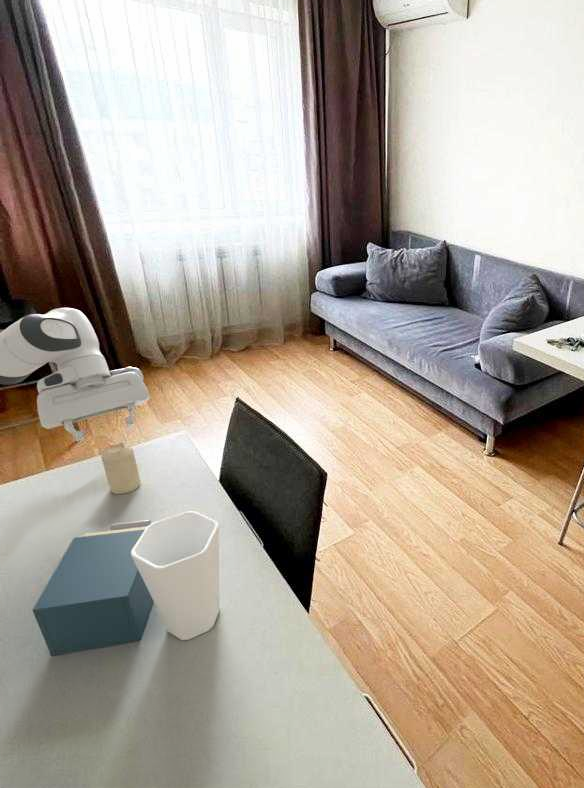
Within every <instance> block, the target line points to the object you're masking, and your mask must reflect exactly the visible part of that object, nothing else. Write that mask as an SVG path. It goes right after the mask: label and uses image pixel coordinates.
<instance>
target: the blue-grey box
mask: <svg viewBox="0 0 584 788" xmlns="http://www.w3.org/2000/svg"><path fill="white" fill-rule="evenodd" d="M144 531H145V529H143V530H135V531H127V532H118V533H110V534H101V535H93V536H85V537H83V536H77V537H73V538H72V541H71V542H70V544H69V546H68V548H67V549H66V551H65V553H64V554H63V555H62V558H61V559H60V561H59V563H58V565H57V567H56V568H55V570H54V572H53V573H52V575H51V577H50V579H49V580H48V582H47V584H46V586H45V588H44V589H43V590H42V593H41V594H40V596H39V598H38V600H37V601H36V603H35V605H34V606H33V608H32V613H33V615H34V617H35V620H36V622H37V625H38V628H39V630H40V632H41V634H42V637H43V639H44V642H45V644H46V646H47V649H48V651H49V653H50V656H51V657H53V656H59V655H60V656H61V655H65V654H72V653H77V652H84V651H89V650H94V649H95V650H96V649H101V648H107V647H114V646H119V645H125V644H130V643H137V642H141V641H142V639H143V636H144V632H145V629H146V626H147V624H148V620H149V617H150V616H151V615H150V614H151V611H152V608H153V605H154V604H155V603H154V601H153V599H152V597H151V595H150V593H149V591H148V589H147V587H146V585H145V583H144V580H143V578H142V576H141V574H140V572H139V570H138V568H137V566H136V564H135V562H134V560H133V558H132V556H131V551H132V549H133V547H134V546H135V544H136V543H137V541H138V540H139V538H140V537H141V535H142V534H143V532H144Z"/></svg>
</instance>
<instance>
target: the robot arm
mask: <svg viewBox="0 0 584 788" xmlns="http://www.w3.org/2000/svg"><path fill="white" fill-rule="evenodd" d="M47 363H55V364H56V365H57V371H55V372H53V373H51V374H49V375H47V376H44V377H42V378H41V379H39V380H38V381H37V384H36V389H37V392H38V395H37V397H36V407H37V414H38V419H39V422H40V425H41V427H42V428H44V429H46V430H51V429H55V428H57V427H61V426H63V427H64V430H65V431H67V432H68V433H70V434H71V435H73V436H74V439H75V441H76V442H81V441H84V440H85V435H84V432H83V430H82V429H80V430H77V429H76V428H74V424H73V423H77V422H81V421H84V420H87V419H92V418H96V417H99V416H102V415H106V414H107V415H108V414H110V413H113V412H118V411H121V410H125V409H126V411H127V412H128V413H129V416H127V417H125V418H124V422H125V425H126V428H129V427H132V426H135V425H136V422H135V419H134V415H135V411H136V406H140V405H143V404H144V405H145V404H146V403H148V401H149V399H150V391H149V390H148V387H147V385H146V383H144V379H145V377H144V374H143V371H141V369H140V368H137V367H132V366H127V367H124V368H118V369H114V370H110V369H109V366H108V363H107V360H106V358H105V356H104V355H103V354H102V352H101V350H100V342H99V338H98V335H97V334H96V332H95V329H94V327H93V325H92V323H91V322H90V320H89V319H88V317H87V316H86V315H85V314H84V313H83V312H82V311H81V310H79V309H76V308H71V307H59V308H54V309H51V310H50V311H48V312H46V313H45V314H40V313H31V314H27V315H25V316H23V317H21V318H20V319H18V320H17V321H15V322H13V323H12V324H10V325H9V326H8V327H6V328H5V329H3V330H2V331H0V385H9V386H10V385H15V384H19V383H22V382H23V381H25V380H26V378H28V377H29V376H31V375H32V374H33V373H34V372H35V371H36V370H38V369H39V368H41V367H43V366H45V365H46V364H47Z"/></svg>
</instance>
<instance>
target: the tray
mask: <svg viewBox="0 0 584 788" xmlns="http://www.w3.org/2000/svg"><path fill="white" fill-rule="evenodd" d="M151 523H152V520H151V519H144V520H135V521H125V522H117V523H112V524H110V527H109V530H105V531H97V532H88V533H87V532H86V533H83V535H82V537H85V536H93V535H101V534H110V533H118V532H127V531H135V530H143V529H146V527H147V526H148V525H150V524H151Z"/></svg>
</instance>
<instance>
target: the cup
mask: <svg viewBox="0 0 584 788" xmlns="http://www.w3.org/2000/svg"><path fill="white" fill-rule="evenodd" d="M219 530H220V525H219V523H218V521H217V520H214V519H213V518H210V517H209V516H206V515H204V514H202V513H200V512H198V511H196V510H187V511H184V512H181V513H178V514H175V515H171V516H168V517H164V518H163V519H162V518H161V519H160V520H156V521H153V522H151V524H150V525H148V526H147V527H146V529H145V531H144V532H143V534H142V535H141V537H140V538H139V540H138V541H137V543H136V544H135V546H134V547H133V549H132V551H131V556H132V558H133V560H134V562H135V564H136V566H137V568H138V570H139V572H140V574H141V576H142V578H143V580H144V583H145V585H146V587H147V589H148V591H149V593H150V595H151V597H152V599H153V601H154V603H153V604H154V605H155V607H156V609H157V611H158V613H159V615H160V617H161V620H162V621H163V623H164V626H165V627H166V629H167V632H168V633H169V634H171V635H173V636H174V637H176V638H177V639H179V640H180V641H189V640H192V639H194V638H196V637H198V636H200V635H202V634H204V633H207V632H210V630H211V629H212V628H213V627H214V626H215V623H216V620H217V618H218V616H219V613H220V609H221V607H220V605H221V604H220V603H221V602H220V531H219Z"/></svg>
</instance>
